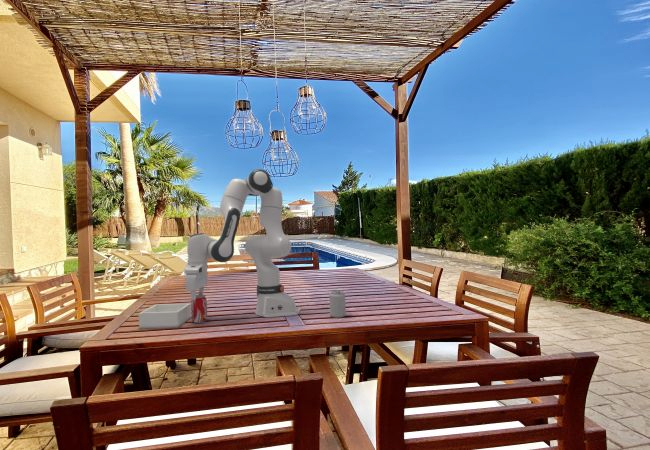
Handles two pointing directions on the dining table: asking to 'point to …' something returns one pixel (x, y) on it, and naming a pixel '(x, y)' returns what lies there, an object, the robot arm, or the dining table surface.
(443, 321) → the dining table surface
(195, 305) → the soda can
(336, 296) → the can
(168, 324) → the bin
